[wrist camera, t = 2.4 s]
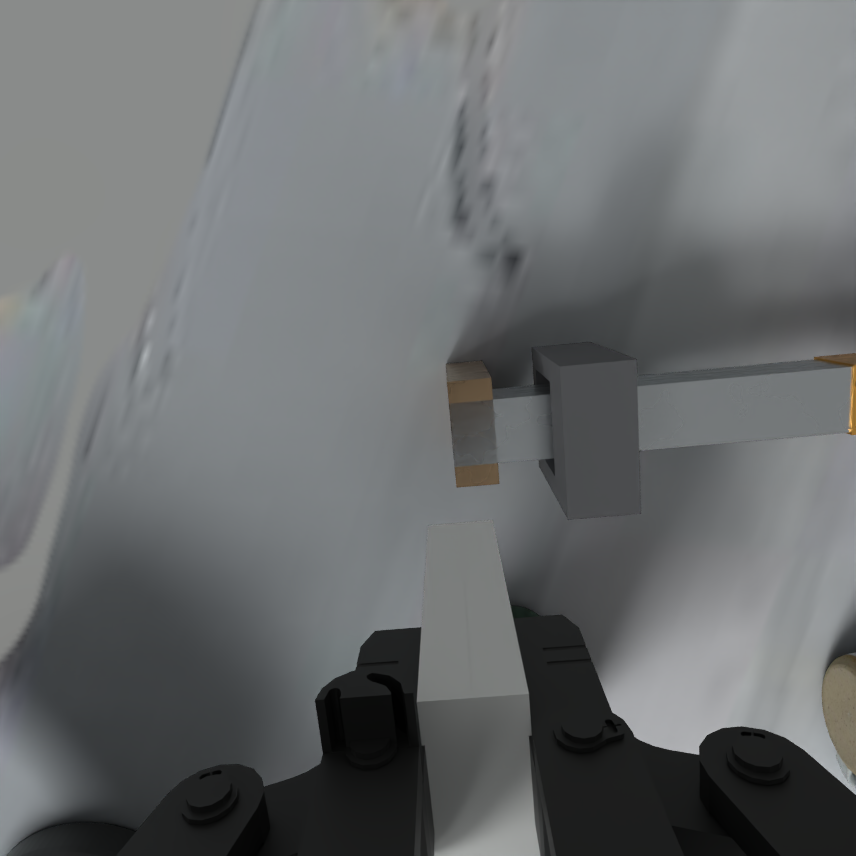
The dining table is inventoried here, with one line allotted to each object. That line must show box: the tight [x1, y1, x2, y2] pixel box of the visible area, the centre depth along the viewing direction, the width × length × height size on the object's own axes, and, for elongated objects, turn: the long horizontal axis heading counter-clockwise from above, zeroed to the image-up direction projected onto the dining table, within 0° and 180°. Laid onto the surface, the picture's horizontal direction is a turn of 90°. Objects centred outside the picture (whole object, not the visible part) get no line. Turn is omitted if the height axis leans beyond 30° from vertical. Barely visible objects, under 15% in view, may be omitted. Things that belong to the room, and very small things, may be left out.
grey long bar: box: [446, 353, 856, 487], centre depth 33 cm, size 26×5×7 cm, turn 95°
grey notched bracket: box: [532, 342, 641, 520], centre depth 30 cm, size 3×6×8 cm, turn 6°
